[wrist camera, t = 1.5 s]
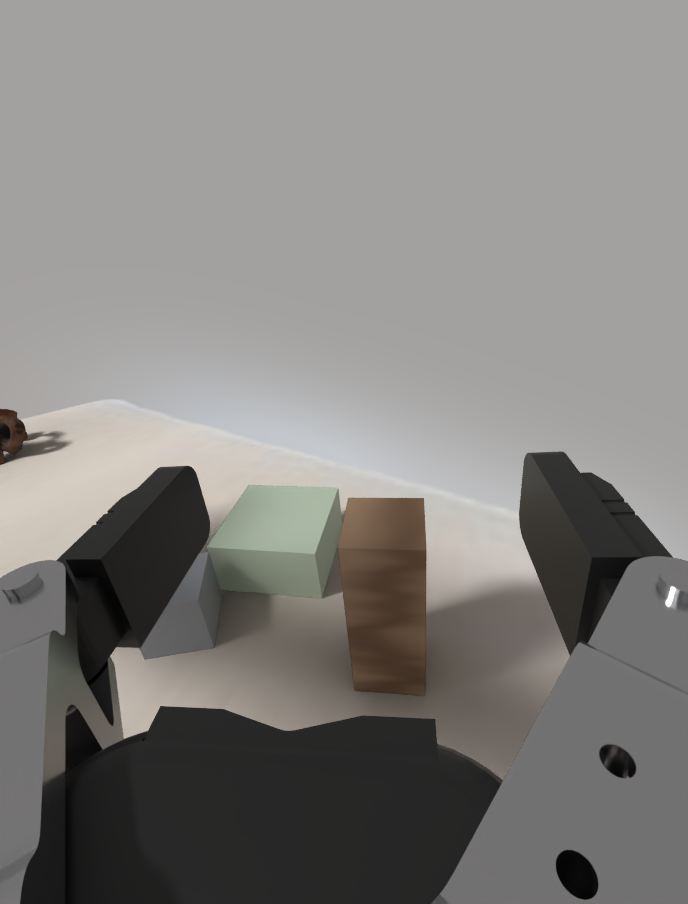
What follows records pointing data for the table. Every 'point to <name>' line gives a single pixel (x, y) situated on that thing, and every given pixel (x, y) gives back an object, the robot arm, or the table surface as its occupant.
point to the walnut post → (385, 593)
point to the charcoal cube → (188, 614)
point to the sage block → (278, 541)
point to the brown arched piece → (10, 433)
